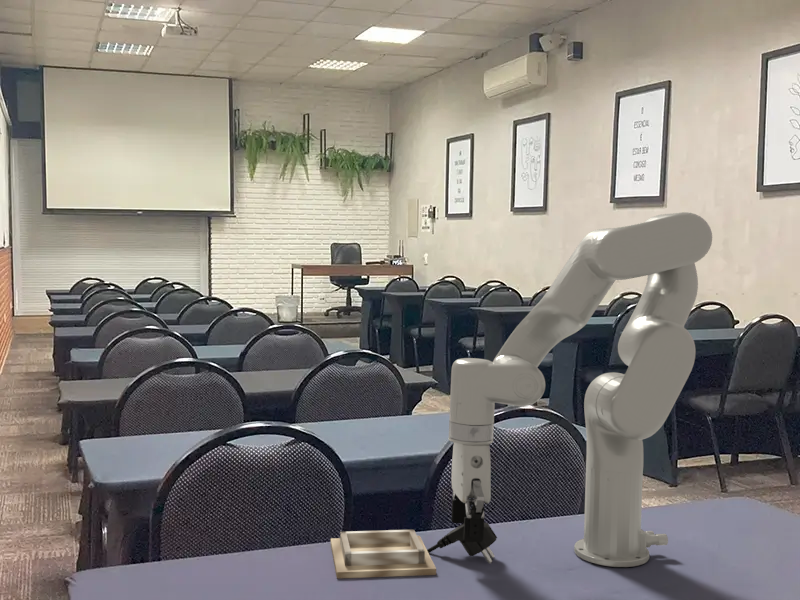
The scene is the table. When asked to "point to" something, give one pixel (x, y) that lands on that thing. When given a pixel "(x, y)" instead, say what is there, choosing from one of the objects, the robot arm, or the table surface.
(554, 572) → the table surface
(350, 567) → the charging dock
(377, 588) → the table surface
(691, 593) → the table surface
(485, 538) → the power plug
